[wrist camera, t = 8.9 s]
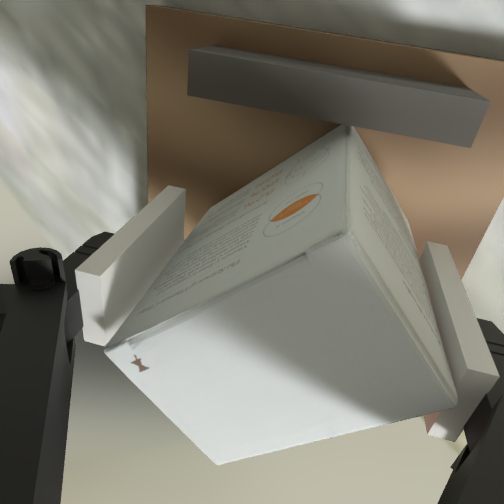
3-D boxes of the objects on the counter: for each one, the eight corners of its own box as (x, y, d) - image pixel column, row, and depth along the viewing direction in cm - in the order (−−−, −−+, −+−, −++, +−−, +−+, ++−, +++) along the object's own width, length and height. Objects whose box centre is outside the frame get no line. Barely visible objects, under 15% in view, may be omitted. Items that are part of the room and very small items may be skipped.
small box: (270, 286, 22) (212, 472, 13) (208, 205, 20) (92, 354, 11) (412, 220, 18) (467, 415, 9) (351, 114, 16) (349, 230, 8)
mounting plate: (160, 5, 17) (106, 2, 13) (549, 67, 15) (613, 83, 12) (159, 281, 25) (124, 327, 21) (415, 344, 23) (426, 407, 20)
